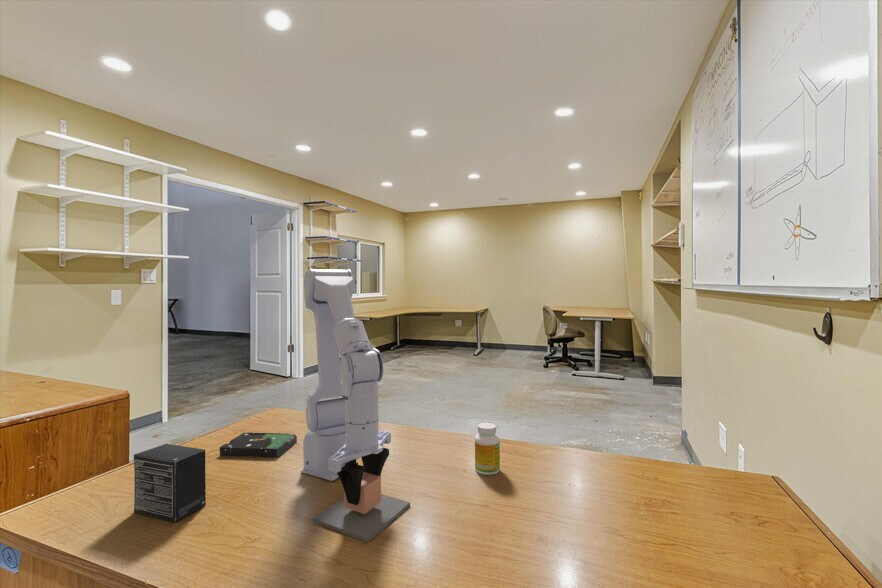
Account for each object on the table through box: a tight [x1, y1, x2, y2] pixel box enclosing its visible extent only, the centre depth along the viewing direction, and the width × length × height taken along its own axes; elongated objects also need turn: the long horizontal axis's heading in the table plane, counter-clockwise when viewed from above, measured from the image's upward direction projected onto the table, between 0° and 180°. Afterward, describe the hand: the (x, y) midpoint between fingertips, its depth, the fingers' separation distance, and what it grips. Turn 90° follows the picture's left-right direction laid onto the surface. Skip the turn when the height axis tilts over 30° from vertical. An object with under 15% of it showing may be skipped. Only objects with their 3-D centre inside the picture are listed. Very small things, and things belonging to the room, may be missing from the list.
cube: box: [343, 472, 382, 514], centre depth 70 cm, size 4×4×4 cm
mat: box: [311, 493, 411, 543], centre depth 70 cm, size 12×12×1 cm
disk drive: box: [219, 432, 298, 459], centre depth 100 cm, size 10×3×15 cm
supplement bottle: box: [474, 422, 501, 476], centre depth 87 cm, size 5×5×10 cm
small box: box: [133, 443, 207, 523], centre depth 72 cm, size 11×6×10 cm, turn 71°
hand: (362, 496), depth 70 cm, fingers closed on cube, 4 cm apart
